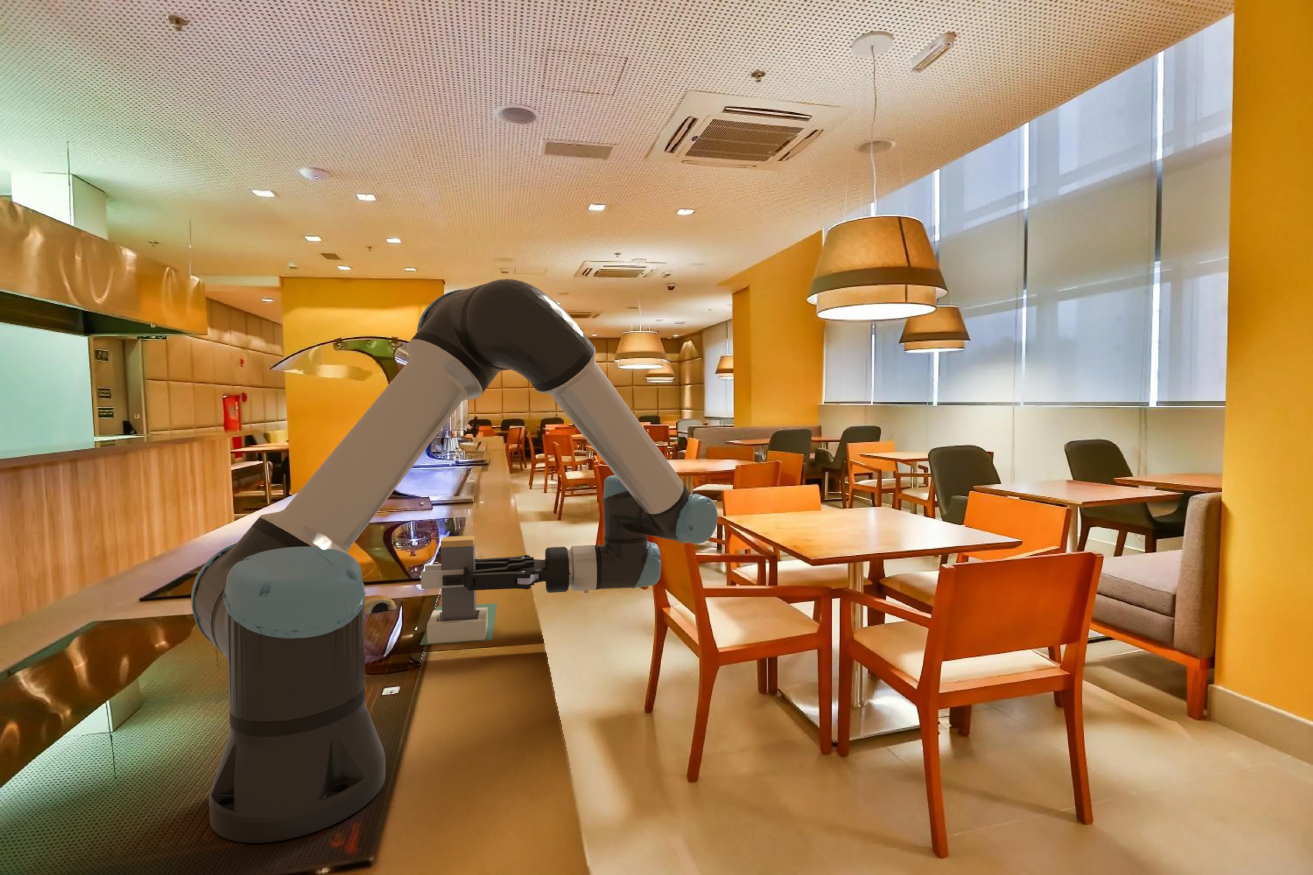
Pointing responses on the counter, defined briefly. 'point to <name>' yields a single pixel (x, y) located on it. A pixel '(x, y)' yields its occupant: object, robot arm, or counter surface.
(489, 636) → the board
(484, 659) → the counter surface
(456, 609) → the plug
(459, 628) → the header
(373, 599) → the pastry
